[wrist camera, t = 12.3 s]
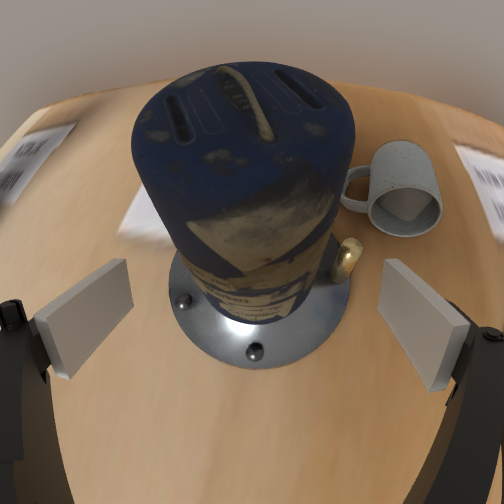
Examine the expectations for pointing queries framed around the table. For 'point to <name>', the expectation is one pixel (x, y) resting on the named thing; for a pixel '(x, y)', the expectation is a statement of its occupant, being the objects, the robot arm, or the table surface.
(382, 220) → the ceramic mug
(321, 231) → the canister
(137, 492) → the table surface
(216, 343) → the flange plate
